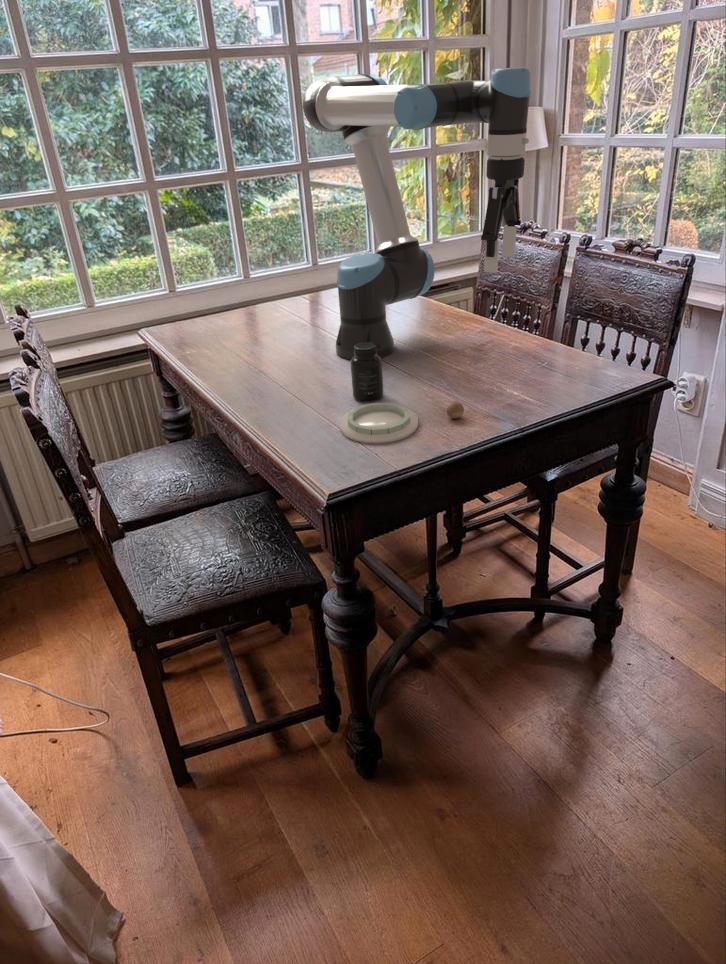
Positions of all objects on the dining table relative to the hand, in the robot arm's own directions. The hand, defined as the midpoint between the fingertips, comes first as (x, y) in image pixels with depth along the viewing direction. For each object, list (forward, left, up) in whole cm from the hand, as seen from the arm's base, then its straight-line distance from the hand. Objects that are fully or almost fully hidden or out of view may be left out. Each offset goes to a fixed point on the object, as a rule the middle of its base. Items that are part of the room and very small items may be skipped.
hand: (499, 264), depth 148 cm
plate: (-12, -37, -25) cm, 46 cm away
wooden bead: (+1, -28, -25) cm, 37 cm away
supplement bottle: (-21, -25, -25) cm, 41 cm away
